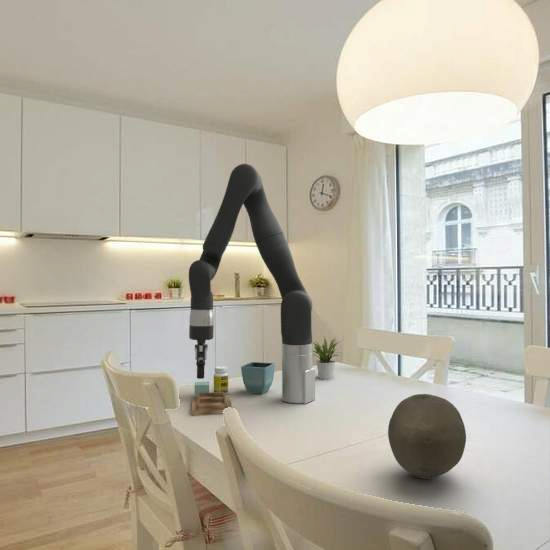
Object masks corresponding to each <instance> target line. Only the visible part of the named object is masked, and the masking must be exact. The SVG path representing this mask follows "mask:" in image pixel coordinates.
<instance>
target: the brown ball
mask: <svg viewBox="0 0 550 550" xmlns="http://www.w3.org/2000/svg"><path fill="white" fill-rule="evenodd" d="M387 437H388V441H389V447H390V450H391V451H392V455H393V457H394V458H395V461H396V463H398V465H399V466H400V467H401V468H402V469H403V470H405V471H406V472H408V473H409V474H410V475H412V476H414V477H415V478H421V479H435V478H439V477H440V476H443V475H445V474H446V473H448V472H450V471H451V470H452V469H453V468H455V467H456V466H457V465H458V464H459V463H460V461H461V460H462V457H463V454H464V452H465V448H466V443H467V432H466V427H465V423H464V421H463V417H462V416H461V413H460V411H459V410H458V409H457V407H456V406H455V405H454V404H453V403H451V402H450V400H448V399H445V398H443V397H441V396H437V395H433V394H429V393H418V394H412V395H410V396H408V397H407V398H404V399H403V400H401V401H400V402H399V403H398V404H397V406H396V407H395V408H394V411H393V412H392V414H391V417H390V420H389V422H388V427H387Z"/></svg>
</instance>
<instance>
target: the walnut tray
mask: <svg viewBox="0 0 550 550" xmlns="http://www.w3.org/2000/svg"><path fill="white" fill-rule="evenodd" d="M191 403H192V404H191V416H205V415H206V416H207V415H209V414H210V415H223V414H222V412H223V410H224V409H225V408H228V407H232V406H233V405H232V401H231V397H230V395H226V394H225V392H214V391H213V392H212V391H211V392H210V391H209V393H198V395H197V397H195V396H192V401H191ZM232 408H233V407H232Z"/></svg>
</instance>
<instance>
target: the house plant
mask: <svg viewBox="0 0 550 550" xmlns="http://www.w3.org/2000/svg"><path fill="white" fill-rule="evenodd" d="M338 338H339V336H338V337H335V338H333V339H332V340H331V341H330V344H329V346H328V342H327V340H326V336H325V335H323V337H321V340H322V342H323V343H322V344H321V345H320V343H319V342H318V341H317V340H315V338H312V344H314V349H315V350H312V353H315V354H314V356H316V357H317V358H318V359H319V360H316V369H317V374H318V379H319V378H320V379H319V380H325V379H327V380H333V379H334V372H335V367H336V361H335V360H332V358H333V357H340V355H339V354H341V352H338V351H337V352H336V350H337V348H336V346H337V345H338V344H339V343H340V342H342V341H343V339H341V340H339V341H337V339H338ZM316 354H317V355H316Z"/></svg>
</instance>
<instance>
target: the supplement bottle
mask: <svg viewBox="0 0 550 550" xmlns="http://www.w3.org/2000/svg"><path fill="white" fill-rule="evenodd" d="M213 392H225V395H228V394H229V373H228V366H223V365H222V366H215V367H214V373H213Z"/></svg>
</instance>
